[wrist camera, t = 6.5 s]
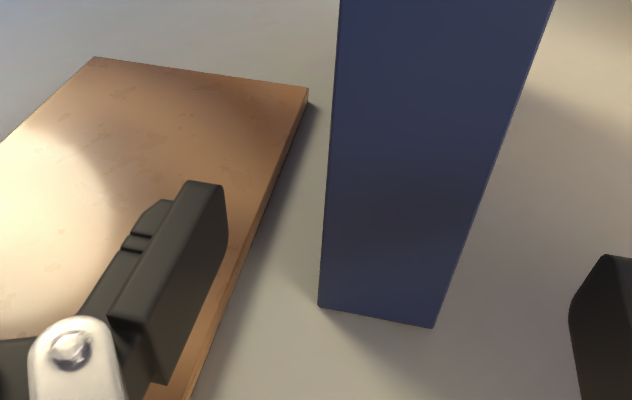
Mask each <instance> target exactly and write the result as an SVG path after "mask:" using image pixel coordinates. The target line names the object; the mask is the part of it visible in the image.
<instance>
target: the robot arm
mask: <svg viewBox="0 0 632 400" xmlns="http://www.w3.org/2000/svg"><path fill="white" fill-rule="evenodd" d="M228 239H229V228H228V220H227V211H226V203H225V194H224V189H223V187H222V185H218V184H212V183H206V182H201V181H195V180H187V181H186V182H185V183H184V184H183V186H182V188H181V189H180V191H179V193H178V194H177V196H176V198H175V199H174V201H173V200H167V199H162V198H161V199H160V200H159V201H157V202H156V203H155V204H153V205H152V206H151V207H149V208H148V209H147V210H145V211H144V212H143V213H142V214H141V215H140V217H139V218H138V220H137V222H136V223H135V225H134V226H133V228H132V229H131V231H130V235H129V236H128V235H127V237H126V239H125V240H124V242H123V243H122V245H121V246H120V250H119V251H117V252H116V254H115V256H114V257H113V259H112V260H111V262H110V263H109V265H108V266H107V268H106V269H105V271H104V273H103V274H102V276H101V277H100V279H99V280H98V282H97V283H96V285H95V286H94V288H93V290H92V291H91V293H90V294H89V296H88V297H87V299H86V300H85V302H84V303H83V305H82V306H81V308H80V309H79V311H78V312H77V313H76V314H75V315H74V316H73V317H69V318H65V319H63V320H60V321H58V322H56V323H54V324H52V325H51V326H50V327H48V328H47V329H45V330H44V331H43V332H42V333H41V334H40V335H38V336H33V337H26V338H16V339H6V340H0V400H143V398H144V396H145V394H146V391H147V389H148V387H149V385H150V383H151V382H152V383H156V384H161V385H165V386H168V383H169V381H170V379H171V377H172V374H173V372H174V370H175V367H176V365H177V363H178V361H179V358H180V356H181V354H182V352H183V349H184V347H185V345H186V343H187V340H188V338H189V336H190V333H191V331H192V329H193V327H194V324H195V322H196V320H197V318H198V315H199V313H200V311H201V309H202V306H203V304H204V302H205V299H206V297H207V295H208V293H209V290H210V288H211V286H212V284H213V281H214V279H215V277H216V275H217V272H218V270H219V268H220V266H221V263H222V261H223V259H224V256H225V253H226V250H227V245H228ZM568 324H569V331H570V336H571V342H572V348H573V353H574V359H575V365H576V370H577V376H578V382H579V388H580V393H581V399H582V400H632V258H626V257H620V256H614V255H609V254H604V255H603V256H601V257H600V258H599V260H598V261H597V262H596V264H595V265H594V267H593V268H592V270H591V271H590V273H589V274H588V276H587V277H586V279H585V280H584V282H583V283H582V285H581V286H580V288H579V289H578V291H577V292H576V294H575V295H574V297H573V299H572V301H571V304H570V308H569V315H568Z"/></svg>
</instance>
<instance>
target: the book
mask: <svg viewBox="0 0 632 400" xmlns="http://www.w3.org/2000/svg"><path fill="white" fill-rule="evenodd" d="M555 1H556V0H340V5H339V19H338V32H337V46H336V59H335V73H334V86H333V100H332V113H331V127H330V140H329V153H328V167H327V180H326V194H325V207H324V221H323V234H322V248H321V261H320V275H319V288H318V301H317V305H318V306H319V307H324V308H329V309H334V310H339V311H344V312H349V313H354V314H359V315H364V316H369V317H374V318H379V319H384V320H389V321H394V322H399V323H404V324H410V325H415V326H420V327H425V328H430V329H432V328H433V327H434V325H435V322H436V319H437V317H438V314H439V311H440V309H441V306H442V303H443V301H444V298H445V295H446V293H447V290H448V287H449V285H450V282H451V279H452V277H453V274H454V271H455V269H456V266H457V263H458V261H459V258H460V255H461V253H462V250H463V247H464V244H465V242H466V239H467V236H468V234H469V231H470V228H471V226H472V223H473V220H474V218H475V215H476V212H477V210H478V207H479V204H480V202H481V199H482V196H483V194H484V191H485V188H486V186H487V183H488V180H489V178H490V175H491V172H492V170H493V167H494V164H495V161H496V159H497V156H498V153H499V151H500V148H501V145H502V143H503V140H504V137H505V135H506V132H507V129H508V127H509V124H510V121H511V119H512V116H513V113H514V111H515V108H516V105H517V103H518V100H519V97H520V95H521V92H522V89H523V86H524V84H525V81H526V78H527V76H528V73H529V70H530V68H531V65H532V62H533V60H534V57H535V54H536V52H537V49H538V46H539V44H540V41H541V38H542V36H543V33H544V30H545V28H546V25H547V22H548V20H549V17H550V14H551V12H552V9H553V6H554V3H555Z"/></svg>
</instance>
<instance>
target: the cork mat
mask: <svg viewBox="0 0 632 400" xmlns="http://www.w3.org/2000/svg"><path fill="white" fill-rule="evenodd" d="M308 96H309V89H308V88H306V87H300V86H293V85H286V84H279V83H272V82H265V81H259V80H252V79H245V78H238V77H231V76H225V75H218V74H211V73H204V72H197V71H191V70H184V69H177V68H170V67H163V66H157V65H150V64H143V63H136V62H129V61H122V60H116V59H109V58H102V57H93V58H92V59H91V60H90V61H89V62H88V63H86V64H85V65H84V66H83V67H82V68H81V69H80V70H79V71H78V72H77V73H76V74H75V75H73V76H72V77H71V78H70V79H69V80H68V81H67V82H66V83H65V84H64V85H63V86H62V87H60V88H59V89H58V90H57V91H56V92H55V93H54V94H53V95H52V96H51V97H50V98H49V99H47V100H46V101H45V102H44V103H43V104H42V105H41V106H40V107H39V108H38V109H37V110H36V111H34V112H33V113H32V114H31V115H30V116H29V117H28V118H27V119H26V120H25V121H24V122H23V123H21V124H20V125H19V126H18V127H17V128H16V129H15V130H14V131H13V132H12V133H11V134H10V135H8V136H7V137H6V138H5V139H4V140H3V141H2V142H1V143H0V340H6V339H16V338H26V337H33V336H38V335H40V334H41V333H42V332H43V331H44V330H45V329H47V328H48V327H50V326H51V325H52V324H54V323H56V322H58V321H60V320H63V319H65V318H69V317H73V316H74V315H75V314H76V313H77V312H78V311H79V309H80V308H81V306H82V305H83V303H84V302H85V300H86V299H87V297H88V296H89V294H90V293H91V291H92V290H93V288H94V286H95V285H96V283H97V282H98V280H99V279H100V277H101V276H102V274H103V273H104V271H105V269H106V268H107V266H108V265H109V263H110V262H111V260H112V259H113V257H114V256H115V254H116V252H117V251H119V250H120V246H121V245H122V243H123V242H124V240H125V239H126V237H127V235H128V236H129V235H130V231H131V229H132V228H133V226H134V225H135V223H136V222H137V220H138V218H139V217H140V215H141V214H142V213H143V212H144V211H145V210H147V209H148V208H149V207H151V206H152V205H153V204H155V203H156V202H157V201H159V200H160V199H161V198H162V199H167V200H173V201H174V199H175V198H176V196H177V194H178V193H179V191H180V189H181V188H182V186H183V184H184V183H185V182H186V181H187V180H195V181H201V182H206V183H212V184H218V185H222V187H223V189H224V194H225V203H226V211H227V220H228V228H229V239H228V245H227V250H226V253H225V256H224V259H223V261H222V263H221V266H220V268H219V270H218V272H217V275H216V277H215V279H214V281H213V284H212V286H211V288H210V290H209V293H208V295H207V297H206V299H205V302H204V304H203V306H202V309H201V311H200V313H199V315H198V318H197V320H196V322H195V324H194V327H193V329H192V331H191V333H190V336H189V338H188V340H187V343H186V345H185V347H184V349H183V352H182V354H181V356H180V358H179V361H178V363H177V365H176V367H175V370H174V372H173V374H172V377H171V379H170V381H169V383H168V386H165V385H161V384H156V383H152V382H151V383H150V385H149V387H148V389H147V391H146V394H145V396H144V398H143V400H189V399H190V396H191V394H192V391H193V389H194V386H195V384H196V381H197V379H198V376H199V374H200V371H201V369H202V366H203V364H204V361H205V359H206V356H207V354H208V351H209V349H210V346H211V344H212V341H213V339H214V336H215V334H216V331H217V329H218V326H219V324H220V321H221V319H222V316H223V313H224V311H225V308H226V306H227V303H228V301H229V298H230V296H231V293H232V291H233V288H234V286H235V283H236V281H237V278H238V276H239V273H240V271H241V268H242V266H243V263H244V261H245V258H246V256H247V253H248V251H249V248H250V246H251V243H252V241H253V238H254V236H255V233H256V230H257V228H258V225H259V223H260V220H261V218H262V215H263V213H264V210H265V208H266V205H267V203H268V200H269V198H270V195H271V193H272V190H273V188H274V185H275V183H276V180H277V178H278V175H279V173H280V170H281V168H282V165H283V163H284V160H285V158H286V155H287V153H288V150H289V147H290V145H291V142H292V140H293V137H294V135H295V132H296V130H297V127H298V125H299V122H300V120H301V117H302V115H303V112H304V110H305V107H306V105H307V102H308Z"/></svg>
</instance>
